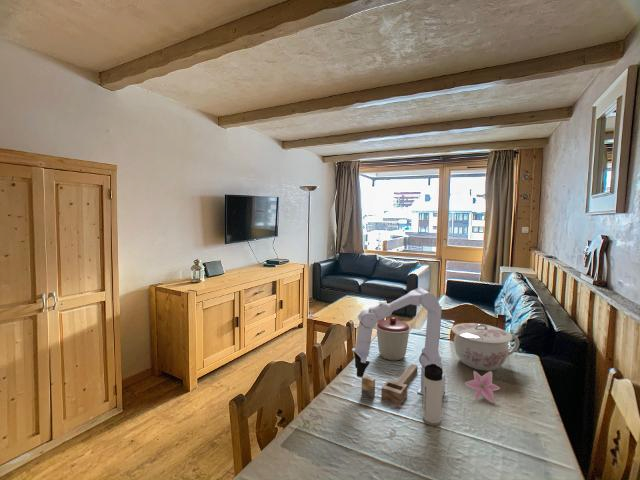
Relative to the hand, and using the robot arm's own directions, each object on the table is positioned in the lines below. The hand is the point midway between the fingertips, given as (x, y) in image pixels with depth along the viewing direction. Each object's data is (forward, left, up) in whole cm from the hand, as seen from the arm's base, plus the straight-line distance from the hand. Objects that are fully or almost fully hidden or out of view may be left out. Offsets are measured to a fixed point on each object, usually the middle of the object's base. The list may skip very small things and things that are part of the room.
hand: (358, 372), depth 134 cm
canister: (+3, -44, -11) cm, 45 cm away
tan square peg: (-3, -2, -10) cm, 11 cm away
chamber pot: (-37, -60, -11) cm, 71 cm away
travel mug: (-29, -1, -11) cm, 31 cm away
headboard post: (-12, -19, -10) cm, 25 cm away
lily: (-42, -29, -11) cm, 53 cm away
